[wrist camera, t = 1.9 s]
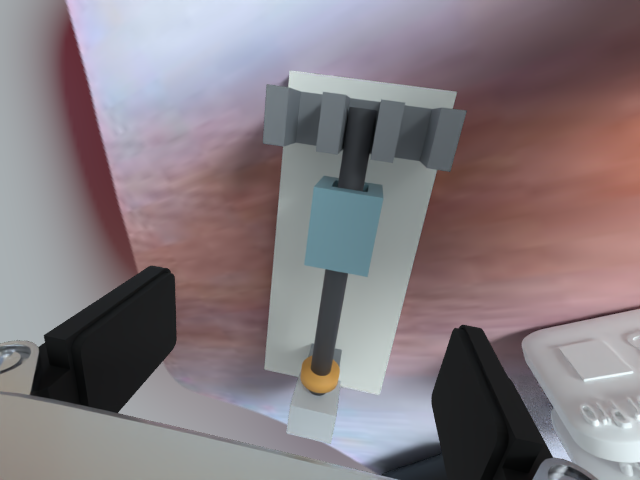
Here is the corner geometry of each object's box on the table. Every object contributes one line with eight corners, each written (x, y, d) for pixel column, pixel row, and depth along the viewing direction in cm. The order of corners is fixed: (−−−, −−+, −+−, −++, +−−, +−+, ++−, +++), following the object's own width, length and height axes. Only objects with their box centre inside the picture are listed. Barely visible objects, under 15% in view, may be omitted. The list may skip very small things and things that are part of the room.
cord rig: (293, 72, 25) (251, 49, 17) (453, 92, 24) (495, 79, 16) (267, 361, 36) (233, 438, 27) (379, 386, 34) (380, 475, 26)
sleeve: (323, 175, 23) (313, 187, 19) (382, 184, 22) (383, 198, 19) (315, 242, 24) (304, 265, 21) (368, 252, 24) (367, 276, 20)
